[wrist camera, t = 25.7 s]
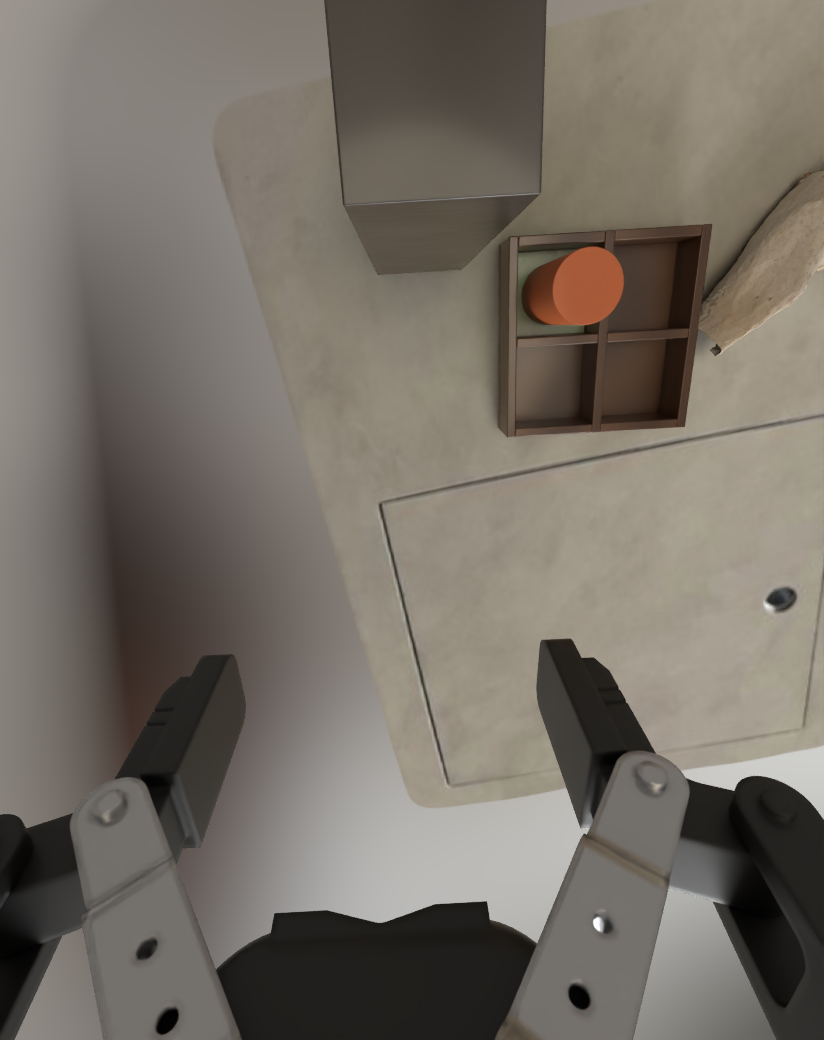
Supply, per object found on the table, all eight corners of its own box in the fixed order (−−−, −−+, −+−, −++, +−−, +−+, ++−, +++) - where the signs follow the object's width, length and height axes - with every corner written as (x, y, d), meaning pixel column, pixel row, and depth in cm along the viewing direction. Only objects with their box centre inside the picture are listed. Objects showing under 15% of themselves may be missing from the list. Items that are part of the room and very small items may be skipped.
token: (520, 326, 36) (550, 327, 29) (521, 265, 35) (553, 248, 28) (576, 323, 36) (620, 322, 29) (579, 261, 35) (627, 243, 28)
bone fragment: (831, 144, 33) (895, 119, 29) (871, 226, 35) (936, 214, 31) (656, 295, 37) (690, 293, 32) (701, 363, 39) (739, 369, 34)
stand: (377, 274, 36) (342, 206, 15) (370, 174, 34) (318, -61, 13) (462, 269, 36) (541, 194, 15) (460, 169, 34) (549, -76, 13)
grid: (498, 428, 40) (507, 437, 37) (499, 244, 35) (509, 236, 32) (661, 418, 40) (684, 426, 36) (683, 233, 35) (712, 224, 32)
